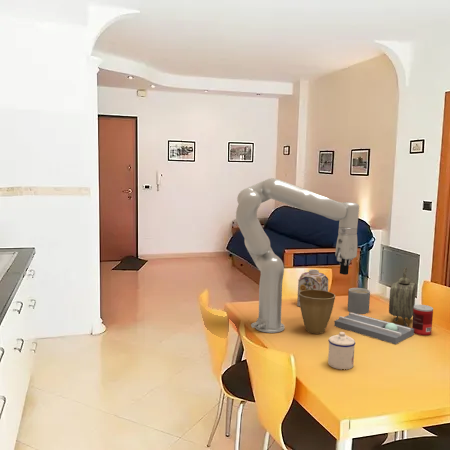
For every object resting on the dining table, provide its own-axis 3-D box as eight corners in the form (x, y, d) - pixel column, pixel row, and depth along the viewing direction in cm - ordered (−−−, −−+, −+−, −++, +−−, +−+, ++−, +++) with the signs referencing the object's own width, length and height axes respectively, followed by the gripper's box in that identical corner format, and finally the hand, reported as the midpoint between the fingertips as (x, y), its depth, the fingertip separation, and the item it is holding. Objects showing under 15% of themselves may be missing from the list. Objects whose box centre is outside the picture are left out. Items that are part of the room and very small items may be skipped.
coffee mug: (371, 314, 224) (372, 293, 222) (350, 313, 224) (351, 293, 222) (363, 305, 237) (364, 286, 236) (343, 305, 237) (344, 285, 236)
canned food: (431, 331, 202) (433, 306, 201) (431, 337, 195) (433, 311, 193) (412, 328, 205) (414, 303, 204) (411, 334, 198) (412, 308, 197)
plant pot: (333, 338, 191) (335, 299, 189) (296, 335, 194) (298, 297, 192) (333, 326, 206) (334, 290, 204) (298, 323, 209) (299, 288, 207)
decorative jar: (318, 310, 228) (320, 273, 226) (296, 306, 234) (297, 270, 232) (328, 304, 238) (329, 269, 236) (306, 300, 244) (307, 266, 242)
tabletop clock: (409, 328, 204) (413, 271, 201) (387, 325, 208) (390, 269, 205) (413, 319, 217) (417, 265, 214) (392, 316, 221) (396, 263, 218)
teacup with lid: (358, 370, 162) (359, 337, 161) (332, 370, 161) (333, 337, 160) (345, 355, 174) (347, 325, 173) (321, 356, 173) (322, 325, 172)
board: (334, 326, 206) (334, 318, 206) (353, 318, 217) (354, 310, 217) (395, 344, 186) (396, 335, 186) (413, 334, 197) (414, 326, 197)
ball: (395, 337, 193) (389, 327, 193) (386, 337, 197) (380, 327, 197) (402, 330, 195) (396, 320, 195) (392, 330, 200) (387, 320, 199)
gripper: (345, 233, 194) (341, 277, 196) (365, 232, 204) (360, 273, 206) (329, 231, 199) (326, 274, 201) (349, 229, 209) (346, 270, 212)
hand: (343, 273), depth 204 cm, fingers closed
